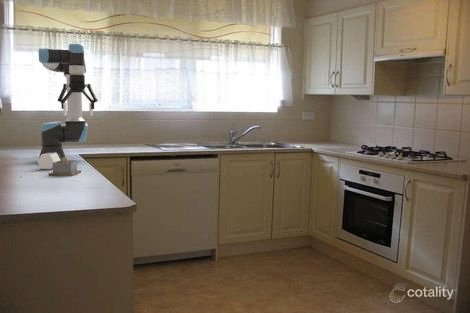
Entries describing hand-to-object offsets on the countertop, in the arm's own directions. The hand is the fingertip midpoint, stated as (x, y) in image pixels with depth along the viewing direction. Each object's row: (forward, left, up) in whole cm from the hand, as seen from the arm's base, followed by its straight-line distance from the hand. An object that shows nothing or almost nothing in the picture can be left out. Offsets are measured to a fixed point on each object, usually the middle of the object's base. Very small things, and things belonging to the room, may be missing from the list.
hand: (78, 115), depth 259 cm
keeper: (+13, -3, -29) cm, 32 cm away
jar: (-1, -18, -25) cm, 31 cm away
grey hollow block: (+13, -3, -28) cm, 31 cm away
